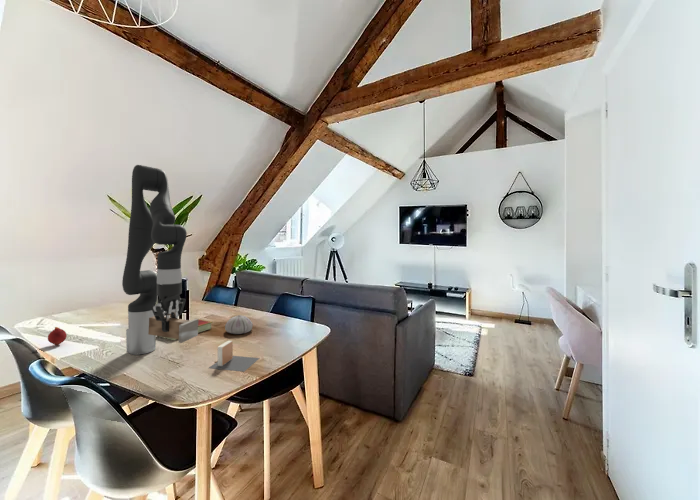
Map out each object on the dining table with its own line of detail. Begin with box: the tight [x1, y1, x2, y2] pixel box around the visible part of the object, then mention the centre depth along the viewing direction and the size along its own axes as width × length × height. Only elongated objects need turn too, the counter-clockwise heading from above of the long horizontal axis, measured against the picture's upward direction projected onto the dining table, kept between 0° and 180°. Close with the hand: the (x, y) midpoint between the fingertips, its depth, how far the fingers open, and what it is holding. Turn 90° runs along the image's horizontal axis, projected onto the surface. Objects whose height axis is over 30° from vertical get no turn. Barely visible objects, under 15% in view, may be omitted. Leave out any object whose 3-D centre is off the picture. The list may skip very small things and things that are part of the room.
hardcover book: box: [156, 318, 213, 341], centre depth 149 cm, size 12×21×4 cm, turn 154°
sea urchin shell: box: [224, 314, 254, 335], centre depth 151 cm, size 13×14×8 cm
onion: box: [47, 326, 68, 346], centre depth 129 cm, size 6×6×8 cm
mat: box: [208, 355, 260, 373], centre depth 113 cm, size 14×12×1 cm
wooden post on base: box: [148, 316, 199, 344], centre depth 106 cm, size 15×8×6 cm, turn 81°
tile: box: [217, 340, 234, 366], centre depth 113 cm, size 2×7×7 cm, turn 170°
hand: (169, 329), depth 106 cm, fingers closed on wooden post on base, 3 cm apart
